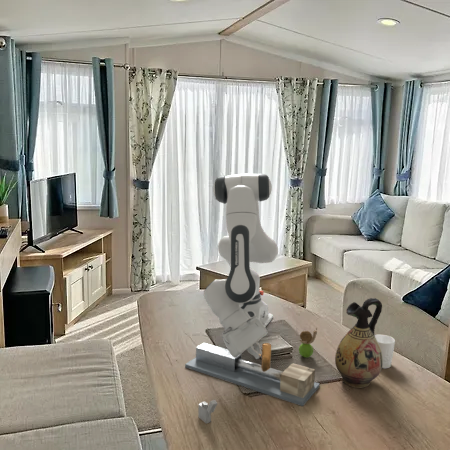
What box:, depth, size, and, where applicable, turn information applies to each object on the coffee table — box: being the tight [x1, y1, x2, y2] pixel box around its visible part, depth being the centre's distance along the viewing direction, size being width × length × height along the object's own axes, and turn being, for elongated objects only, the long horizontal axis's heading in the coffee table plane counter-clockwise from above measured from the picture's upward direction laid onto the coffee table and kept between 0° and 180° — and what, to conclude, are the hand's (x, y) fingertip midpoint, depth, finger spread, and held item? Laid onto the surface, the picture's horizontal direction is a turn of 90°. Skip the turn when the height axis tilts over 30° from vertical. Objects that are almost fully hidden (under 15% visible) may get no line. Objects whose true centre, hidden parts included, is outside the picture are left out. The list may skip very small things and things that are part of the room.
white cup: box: [374, 333, 396, 369], centre depth 180 cm, size 8×8×10 cm
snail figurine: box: [298, 327, 318, 359], centre depth 185 cm, size 5×6×12 cm
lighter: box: [197, 399, 218, 424], centre depth 143 cm, size 7×2×8 cm, turn 38°
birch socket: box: [280, 362, 316, 398], centre depth 160 cm, size 9×8×6 cm
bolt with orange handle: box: [235, 342, 284, 381], centre depth 169 cm, size 3×24×11 cm, turn 58°
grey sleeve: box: [195, 342, 243, 372], centre depth 176 cm, size 5×16×5 cm, turn 58°
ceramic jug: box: [334, 297, 383, 389], centre depth 166 cm, size 17×15×30 cm
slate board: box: [184, 356, 320, 407], centre depth 170 cm, size 14×45×1 cm, turn 58°
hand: (260, 356), depth 167 cm, fingers closed, pressing on bolt with orange handle
